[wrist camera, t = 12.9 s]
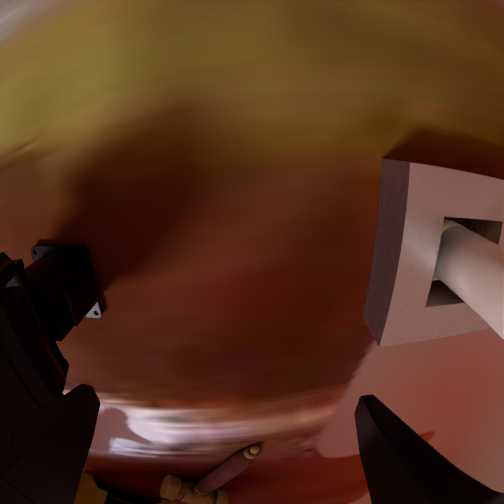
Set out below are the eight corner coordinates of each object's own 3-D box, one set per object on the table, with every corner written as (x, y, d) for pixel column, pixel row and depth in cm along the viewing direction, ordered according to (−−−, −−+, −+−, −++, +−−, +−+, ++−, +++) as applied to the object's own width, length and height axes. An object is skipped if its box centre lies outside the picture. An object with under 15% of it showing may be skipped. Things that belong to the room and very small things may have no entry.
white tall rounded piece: (408, 258, 20) (510, 356, 8) (434, 208, 19) (558, 273, 7) (442, 277, 21) (533, 366, 9) (466, 232, 19) (572, 300, 8)
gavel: (217, 451, 25) (293, 470, 27) (219, 421, 29) (289, 442, 31) (157, 499, 30) (215, 515, 32) (162, 478, 34) (216, 494, 36)
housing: (362, 316, 22) (379, 346, 18) (382, 158, 18) (410, 162, 14) (470, 305, 22) (493, 326, 18) (496, 177, 17) (527, 186, 14)
